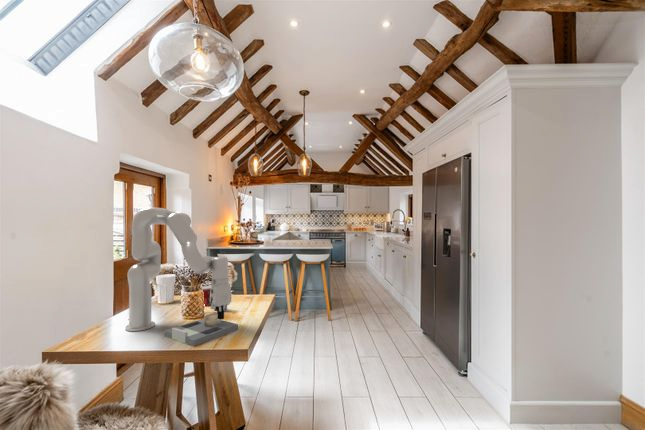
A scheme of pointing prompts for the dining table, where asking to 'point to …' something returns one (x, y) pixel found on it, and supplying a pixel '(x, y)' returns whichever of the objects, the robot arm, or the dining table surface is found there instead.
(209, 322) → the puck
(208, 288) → the canned food
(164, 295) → the cup
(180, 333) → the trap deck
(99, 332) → the dining table surface
